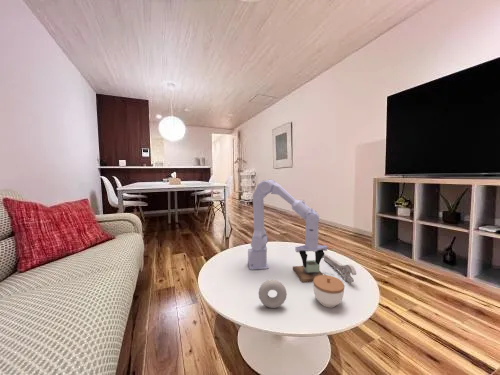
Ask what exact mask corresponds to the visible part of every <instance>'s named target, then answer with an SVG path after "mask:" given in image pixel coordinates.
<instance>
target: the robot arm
mask: <svg viewBox="0 0 500 375" xmlns="http://www.w3.org/2000/svg"><path fill="white" fill-rule="evenodd" d="M269 194H271V195H277V196H279V197H281V198H282V199H283V200H285V202H287V203H288V204H290V205H291V209H292V211H294V212H295V213H296V214H297V215H298V216H300V217H301V218H302V219H304V223H305V230H304V231H305V233H304V234H305V235H304V244H303V245H300V246H295V247H294V248H295V253H298V254H299V256H300V257H301V261H302V266H304V267H306V261H307V260H308V253H307V252H314V257H315V259H314V260H315V262H316V263H317V264H319V265H320V263H321V261H322V260H323V259H322V257H323V256H324V254H325V252H327V251H328V246H327V245H324V244H323V245H321V244H319V220H320V215H319V213H318V212H317V211H316V210H314V209H313V207H312V208H311V207H310V206H309V205H307V204H306V201H304V200H301V199H296V198H295V197H293V195H291V193H289V192H288V191H287V190H286V189H285V188H284V187H283V186H281V184H280V183H278V182H276V181H275V180H274V179H271V178H270V179H265V180H261V181H260V182H259V183H258V184H257V186H256V188H255V190H254V192H253V194H252V207H253V208H252V209H253V210H252V211H253V212H252V214H253V231H252V232H253V234H252V238H251V242H250V246H251V248H248V251H247V265H248V268H249V270H252V271H253V270H265V269H267V270H268V269H270V267H269V265H268V263H267V261H268V260H267V258H268V257H267V255H268V254H267V253H268V248H267V244H268V242H269V238H268V236H267V231H266V229H265V208H264V206H265V205H264V198H266V197H267V195H269ZM324 251H325V252H324Z"/></svg>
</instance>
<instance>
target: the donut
mask: <svg viewBox="0 0 500 375" xmlns="http://www.w3.org/2000/svg"><path fill="white" fill-rule="evenodd" d="M270 291H275V292H276V293H277V294H276V295H275V296H270V295H269V292H270ZM287 295H288V294H287V289H286V287H285V285H284V284H283V283H282V282H280V281H279V280H276V279H269V280H266V281H264V282H263V283H261V285H260V287H259V288H258V299H259V300H260V302H261V303H262V305H264V306H265V307H267V308H270V309H275V308H278V307H280V306H282V305H284V303H285V302H286V300H287Z"/></svg>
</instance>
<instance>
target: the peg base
mask: <svg viewBox="0 0 500 375" xmlns="http://www.w3.org/2000/svg"><path fill="white" fill-rule="evenodd" d="M309 265H313V263H311V262H309ZM292 271H293V272H294V273H295V275H296V276H297V278H298V279H299V281H300V282H301V283H313V279H314V278H315V277H316V276H320V275H324V274H323V273H322V272H321V271H320V270H319V272H308V273H307V271H306V270H305V269H304V268H303V265H297V266H295V265H294V266H292Z"/></svg>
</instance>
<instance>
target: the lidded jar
mask: <svg viewBox="0 0 500 375" xmlns="http://www.w3.org/2000/svg"><path fill="white" fill-rule="evenodd" d="M312 283H313V286H312V287H313V294H314V296H315V298H316V300H317V301H318V302H319V303H320V304H321V305H322V306H323V307H326V308H335V307H337V306H339V304H340V303H341V302H342V300H343V299H344V292H345V284H344V282H343V281H342V280H341V279H339V278H337V277H335V276H331V275H327V274H326V275H325V274H323V275H320V276H316V277H315V278H314V279H313V282H312Z"/></svg>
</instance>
